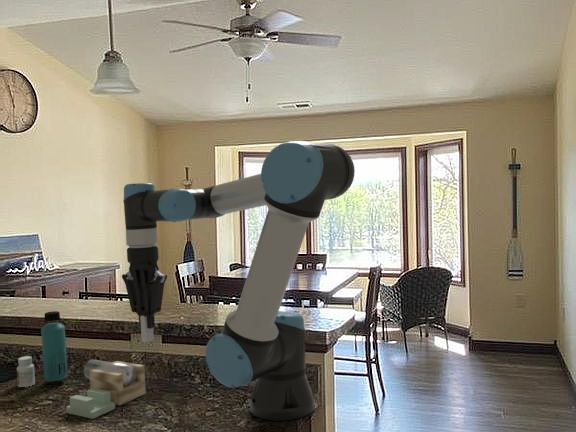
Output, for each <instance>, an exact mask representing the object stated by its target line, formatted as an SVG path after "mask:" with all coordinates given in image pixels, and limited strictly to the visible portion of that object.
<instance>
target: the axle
mask: <svg viewBox="0 0 576 432" xmlns="http://www.w3.org/2000/svg"><path fill="white" fill-rule="evenodd" d="M112 362H113V361H111V362H110V361H104V360H98V359H89V360H88V361H86V363H85V364H84V366H83V375H84V377H85V378H86V379H88V380H90V370H93V369H97V370H103V371H109V372H115V373H121V374H123V385H125V386H130V385H132V384H133V383H134V382H135V380H136V378H137V370H136V368H135V367H134V366H131V365H124V364H118V363H112Z"/></svg>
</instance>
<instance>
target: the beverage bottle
mask: <svg viewBox="0 0 576 432" xmlns="http://www.w3.org/2000/svg"><path fill="white" fill-rule="evenodd" d="M43 320H44V321H45V322H50V323H46V324H45V325H43V326H42V327H41V329H40V333H41V335H40V336H41V348H42V351H41V352H42V360H41V361H42V371H43V373H42V374H43V378H44V380H45V381H48V382H55V381H60V380H64V379H65V378H68V374H69V372H68V370H69V369H68V367H69V366H68V358H67V357H68V355H67V339H66V331H65V328H66V326H65V325H64V324H62V323H61V322H55V321H59V320H61V315H60V311H56V310H53V311H48V312H45V313H44V318H43ZM53 321H54V322H53Z"/></svg>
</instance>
